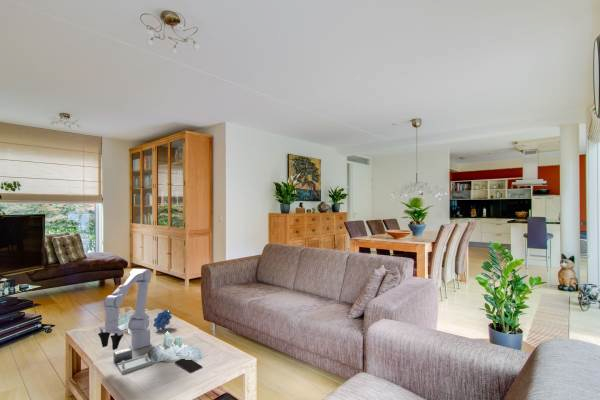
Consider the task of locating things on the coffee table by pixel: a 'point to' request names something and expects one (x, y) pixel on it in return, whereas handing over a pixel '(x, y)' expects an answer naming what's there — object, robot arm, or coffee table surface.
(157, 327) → the grapes
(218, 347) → the coffee table surface
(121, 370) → the tray
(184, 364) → the smartphone
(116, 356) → the drive
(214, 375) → the coffee table surface
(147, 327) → the robot arm
